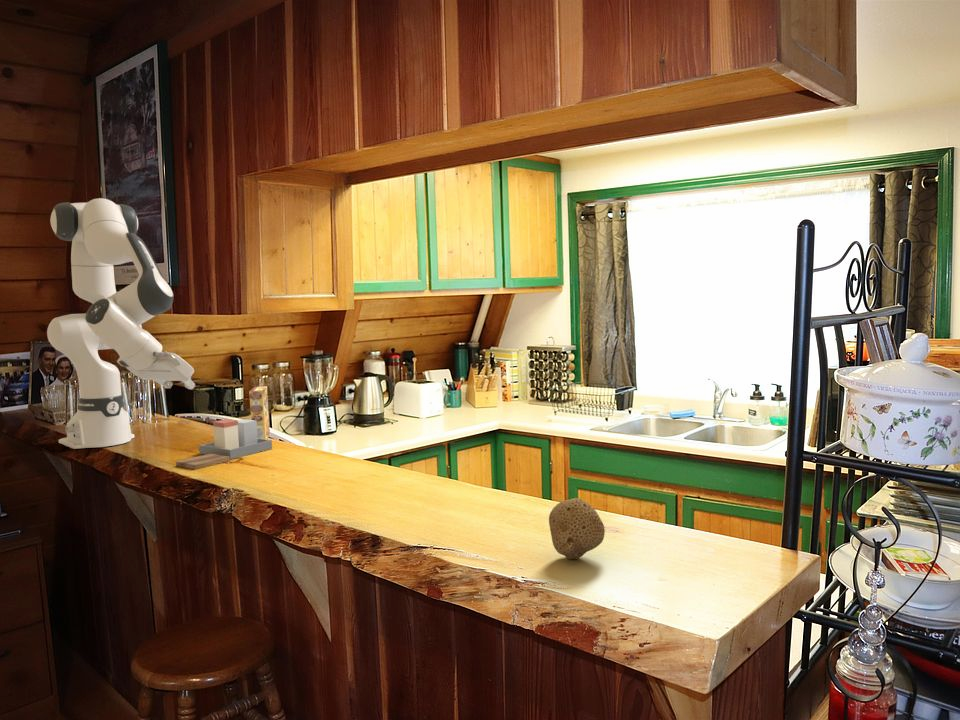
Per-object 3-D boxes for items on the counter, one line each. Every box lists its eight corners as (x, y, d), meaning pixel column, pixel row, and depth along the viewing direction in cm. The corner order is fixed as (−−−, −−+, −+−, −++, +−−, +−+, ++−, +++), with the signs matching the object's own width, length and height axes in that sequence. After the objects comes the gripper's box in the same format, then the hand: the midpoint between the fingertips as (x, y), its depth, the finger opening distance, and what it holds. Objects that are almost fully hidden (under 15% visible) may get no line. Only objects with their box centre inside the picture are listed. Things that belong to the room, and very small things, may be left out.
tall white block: (234, 449, 217) (233, 421, 216) (247, 446, 220) (246, 419, 220) (245, 451, 214) (243, 423, 213) (258, 448, 218) (256, 420, 217)
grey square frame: (199, 454, 212) (199, 445, 212) (241, 444, 224) (240, 435, 224) (230, 459, 205) (230, 450, 205) (272, 448, 217) (271, 440, 216)
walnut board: (176, 466, 199) (175, 461, 199) (210, 457, 208) (210, 453, 207) (195, 469, 194) (195, 464, 194) (229, 460, 203) (229, 456, 203)
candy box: (266, 441, 228) (263, 390, 226) (251, 442, 227) (248, 390, 225) (270, 435, 236) (267, 386, 235) (256, 436, 236) (253, 386, 234)
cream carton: (215, 454, 211) (212, 421, 210) (228, 451, 215) (226, 419, 214) (225, 456, 209) (223, 423, 208) (239, 452, 213) (237, 420, 212)
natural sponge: (606, 550, 130) (605, 492, 129) (603, 570, 121) (602, 508, 120) (552, 548, 132) (551, 491, 131) (545, 567, 123) (544, 506, 122)
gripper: (175, 342, 188) (212, 378, 197) (127, 343, 199) (164, 376, 208) (161, 362, 184) (199, 397, 193) (113, 362, 196) (151, 395, 205)
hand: (181, 386), depth 201 cm, fingers open, 8 cm apart
